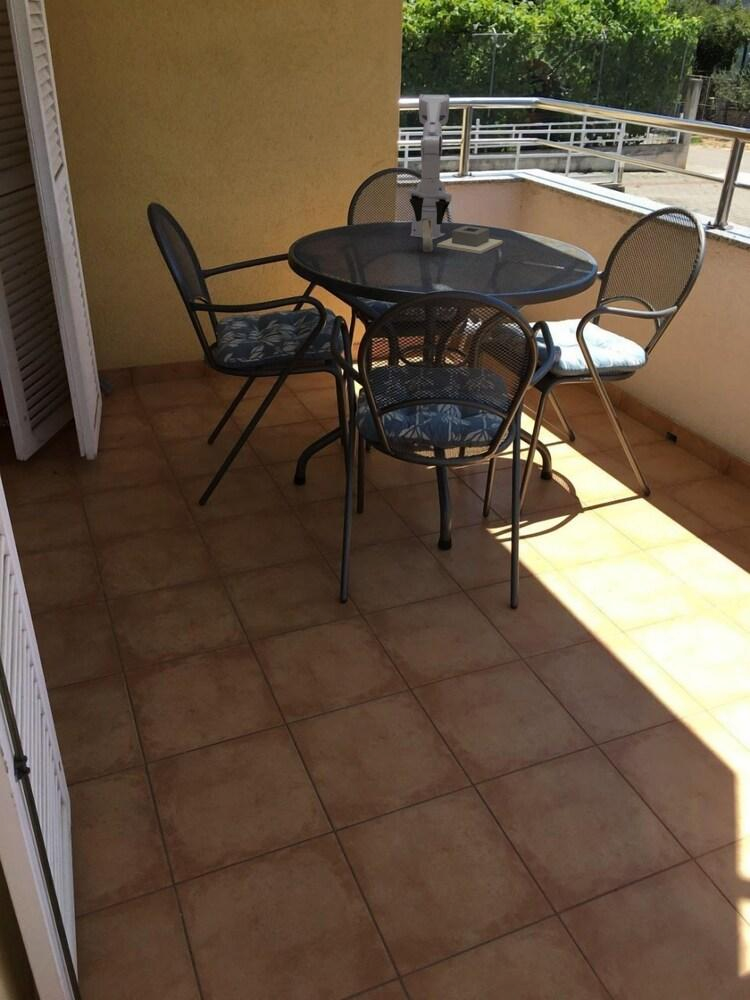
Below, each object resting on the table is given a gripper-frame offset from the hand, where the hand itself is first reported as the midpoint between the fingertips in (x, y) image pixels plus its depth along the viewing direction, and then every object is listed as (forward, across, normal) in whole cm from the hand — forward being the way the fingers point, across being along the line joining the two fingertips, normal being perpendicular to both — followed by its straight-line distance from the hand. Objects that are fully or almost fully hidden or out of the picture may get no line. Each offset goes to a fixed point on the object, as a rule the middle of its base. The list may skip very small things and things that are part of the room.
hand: (428, 222), depth 264 cm
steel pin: (+9, 0, 0) cm, 9 cm away
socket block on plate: (+9, +8, +14) cm, 18 cm away
